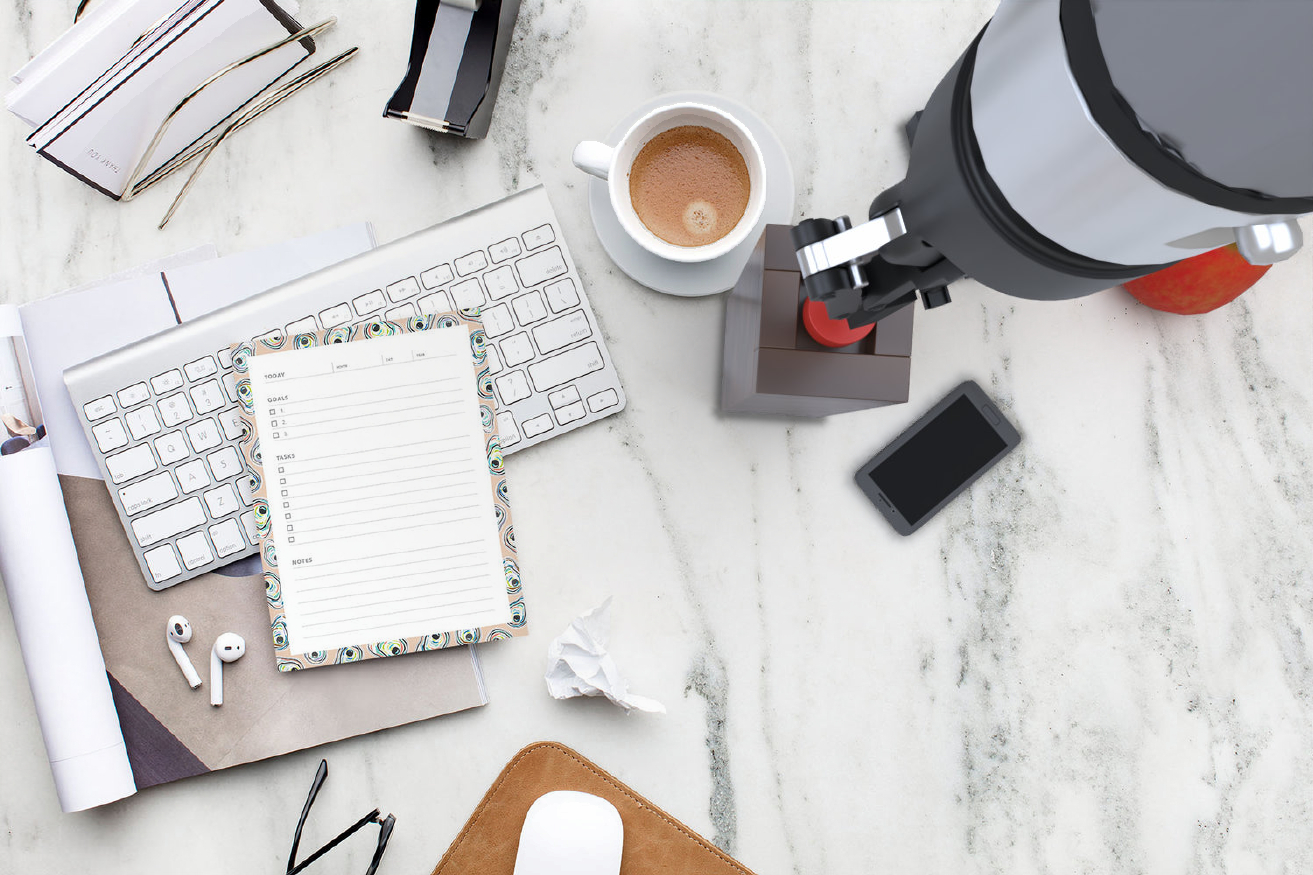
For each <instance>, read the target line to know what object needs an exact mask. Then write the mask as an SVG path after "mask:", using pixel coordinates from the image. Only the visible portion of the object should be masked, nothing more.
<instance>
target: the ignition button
mask: <svg viewBox="0 0 1313 875" xmlns="http://www.w3.org/2000/svg"><path fill="white" fill-rule="evenodd" d="M803 321H804V324H805V327H806V329H807V331H808V333H809V334H810V335H811V336H812V337H813V338H814V339H815V340H816V341H817V342H819V343H821V344H823V345H825V346H828V347H834V348H839V347H845V346H848V345H851V344H853V343H855V342H857V341H859V340H860V339H862V338H864V337H865V336H866V335H867V334H868V333H869V332H870V331H871V330H872V329H873V327H874V325H875V323H873V324H869V325H866V326H862V327H859V328H855V329H852V330H850V329H849V325H848V322H847V318H846V319H843V320H835V319H832V320H829V317H828V313H827V310H826V307H825V303H824V302H822V301H810V299H809V296H808V297H807V298H806V301H805V303H804V307H803Z"/></svg>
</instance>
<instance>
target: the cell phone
mask: <svg viewBox="0 0 1313 875" xmlns="http://www.w3.org/2000/svg"><path fill="white" fill-rule="evenodd" d="M1021 442H1022V437H1021V434H1019V432H1018V430H1017V429H1016V428H1015V426H1014V425H1013V424H1012V423H1011V422H1010V420H1009V419H1008V418H1007V416H1005V414H1004V413H1003V412H1002V411H1001V410H1000V409H999V407H998V406H997V405H996V404H995V402H994V401H993V400H992V399H991V398H990V397H989V395H988V394H987V393H986V392H985V391H984V389H982V387H981V386H980V385H979V384H978V383H976V382H975V381H974V380H971V379H970V380H966V381H964V382H963V383H961V384H960V385H958V386H957V387H956V388H955V389H953V390H952V391H951V392H950V393H949V394H948V395H946V396H945V397H944V398H943V399H942V400H940V401H939V402H938V403H937V404H936V405H934V406H933V407H932V408H931V409H930V410H928V411H927V412H926V413H925V414H923V415H922V416H921V417H920V418H919V419H917V421H915V422H914V423H913V424H911V425H910V426H909V427H908V428H907V429H906V430H904V431H903V432H902V433H901V434H900V435H899V436H898V437H896V438H895V439H894V440H892V441H891V442H890V443H888V445H886V446H885V447H884V448H883V449H882V450H881V451H880V452H878V453H877V454H875V456H874V457H872V458H871V459H870V460H869V461H867V463H866V464H864V465H863V466H862V467H861V468H860V469H859V470H857V472H856V473H855V475H854V480H855V483H856V484H857V486H858V488H860V490H861V491H862V492H863V493H864V495H865V496H866V497H867V498H868V500H870V502H871V503H872V504H873V505H874V506H875V507H876V509H877V510H878V512H880V513H881V515H882V516H883V517H884V518H885V519H886V521H887V522H888V523H889V524H890V525H891V526H892V528H893V529H894V530H895V531H896V532H897V533H898V534H899V535H900V536H903V537H908V536H911V535H913V534H914V533H915V532H916V531H918V530H919V529H921V528H922V527H923V526H924V525H925V524H927V523H928V522H929V521H930V520H931V519H932V518H934V517H935V516H936V515H937V514H939V513H940V512H941V511H942V510H943V509H944V508H946V507H947V506H948V505H949V504H950V503H952V502H953V501H954V500H955V499H956V498H958V497H959V496H960V495H961V494H962V493H964V492H965V491H966V490H967V489H968V488H970V487H971V486H972V485H973V484H975V483H976V481H978V480H979V479H980V478H981V477H983V476H984V475H985V474H986V473H987V472H988V471H990V470H991V469H992V468H993V467H994V466H996V465H997V464H998V463H999V462H1000V461H1002V460H1003V459H1004V458H1005V457H1006V456H1007V455H1009V454H1010V453H1011V452H1012V451H1013V450H1015V449H1016V448H1017V447H1018V446H1019V445H1020V443H1021Z"/></svg>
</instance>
